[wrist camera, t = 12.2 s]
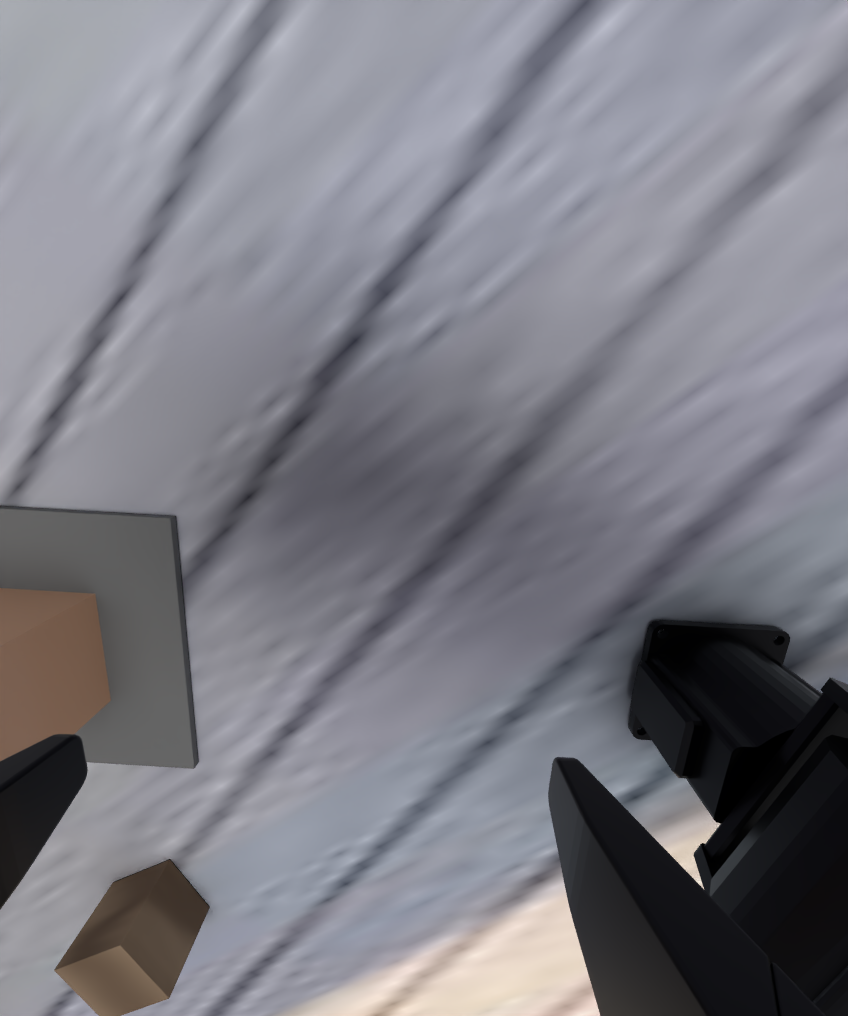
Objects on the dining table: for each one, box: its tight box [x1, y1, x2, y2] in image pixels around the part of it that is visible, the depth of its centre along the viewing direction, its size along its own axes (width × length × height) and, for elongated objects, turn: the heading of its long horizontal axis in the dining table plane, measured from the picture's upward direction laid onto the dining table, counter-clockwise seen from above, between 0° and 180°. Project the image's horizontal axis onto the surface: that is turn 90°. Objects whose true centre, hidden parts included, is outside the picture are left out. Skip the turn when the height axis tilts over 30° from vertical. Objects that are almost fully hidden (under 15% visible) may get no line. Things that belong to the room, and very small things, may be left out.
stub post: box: [54, 860, 210, 1016], centre depth 23 cm, size 4×4×4 cm
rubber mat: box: [0, 506, 198, 769], centre depth 21 cm, size 14×14×1 cm
